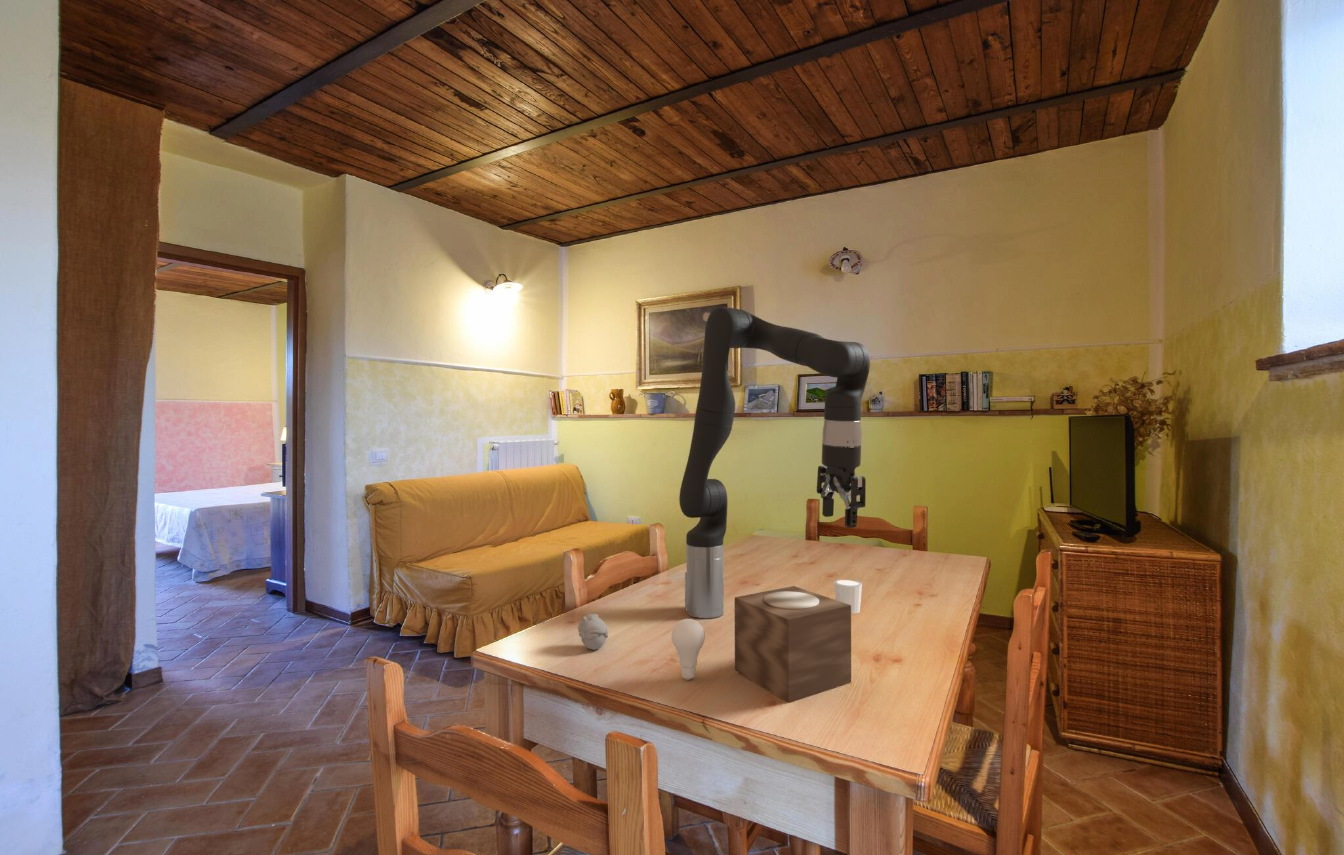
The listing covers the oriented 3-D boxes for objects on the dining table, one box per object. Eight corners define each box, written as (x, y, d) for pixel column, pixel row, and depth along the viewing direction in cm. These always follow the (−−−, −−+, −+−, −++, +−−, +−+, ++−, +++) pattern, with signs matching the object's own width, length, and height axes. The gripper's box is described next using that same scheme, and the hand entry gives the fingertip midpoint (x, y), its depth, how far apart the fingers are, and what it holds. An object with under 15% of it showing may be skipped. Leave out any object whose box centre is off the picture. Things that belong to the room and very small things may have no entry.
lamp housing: (734, 670, 111) (734, 595, 111) (795, 654, 119) (795, 583, 119) (788, 702, 98) (788, 617, 98) (852, 681, 106) (852, 602, 106)
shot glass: (865, 608, 149) (865, 581, 149) (858, 616, 143) (858, 587, 143) (838, 604, 152) (838, 577, 152) (830, 611, 147) (830, 583, 147)
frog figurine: (594, 640, 128) (594, 608, 127) (615, 649, 123) (615, 615, 123) (571, 647, 123) (571, 614, 123) (591, 657, 118) (591, 622, 118)
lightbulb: (702, 687, 104) (702, 626, 104) (668, 685, 105) (668, 623, 105) (707, 673, 110) (707, 615, 110) (675, 671, 111) (675, 613, 111)
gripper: (807, 438, 123) (805, 514, 125) (844, 447, 109) (841, 532, 111) (839, 437, 125) (836, 512, 127) (879, 446, 111) (876, 529, 113)
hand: (838, 521), depth 119 cm, fingers open, 8 cm apart
